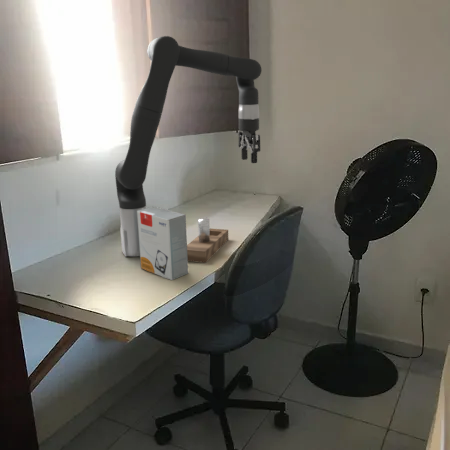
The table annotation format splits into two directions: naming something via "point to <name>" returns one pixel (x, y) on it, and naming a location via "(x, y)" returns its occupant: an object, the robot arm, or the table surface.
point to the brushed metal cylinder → (204, 230)
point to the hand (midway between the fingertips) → (249, 161)
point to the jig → (206, 246)
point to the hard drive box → (163, 242)
